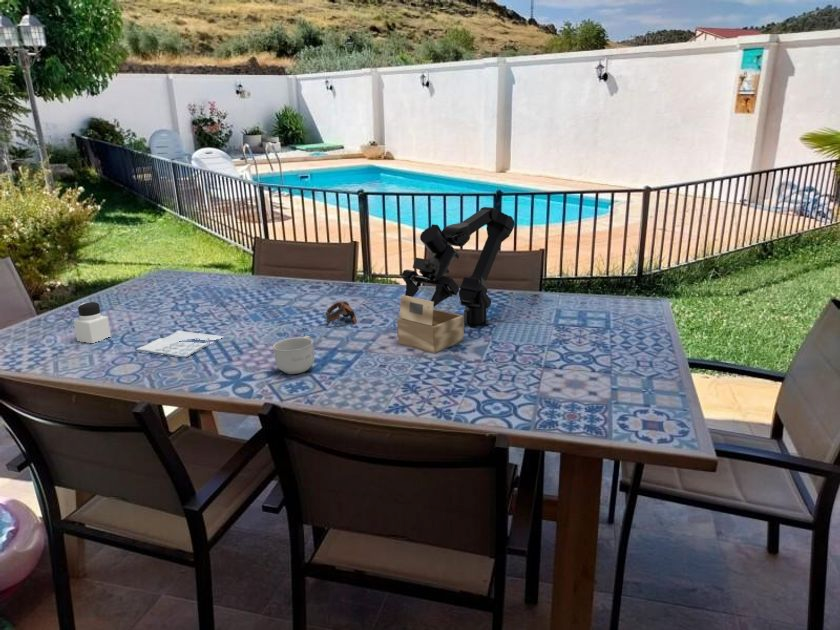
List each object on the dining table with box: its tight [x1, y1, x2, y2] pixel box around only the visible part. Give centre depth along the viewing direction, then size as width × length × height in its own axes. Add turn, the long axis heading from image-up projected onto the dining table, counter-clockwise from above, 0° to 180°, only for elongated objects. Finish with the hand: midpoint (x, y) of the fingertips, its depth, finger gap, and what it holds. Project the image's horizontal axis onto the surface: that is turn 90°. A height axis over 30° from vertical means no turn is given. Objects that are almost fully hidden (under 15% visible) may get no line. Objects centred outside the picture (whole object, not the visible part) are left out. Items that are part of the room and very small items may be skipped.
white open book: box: [136, 330, 225, 359], centre depth 195 cm, size 19×20×2 cm
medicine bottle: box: [73, 301, 112, 344], centre depth 200 cm, size 7×7×12 cm
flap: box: [399, 294, 435, 326], centre depth 185 cm, size 7×12×1 cm
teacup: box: [272, 335, 315, 375], centre depth 174 cm, size 14×11×8 cm
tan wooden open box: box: [396, 308, 465, 354], centre depth 192 cm, size 14×15×8 cm
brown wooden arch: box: [324, 301, 358, 325], centre depth 214 cm, size 12×10×8 cm
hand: (416, 305), depth 185 cm, fingers open, 9 cm apart
